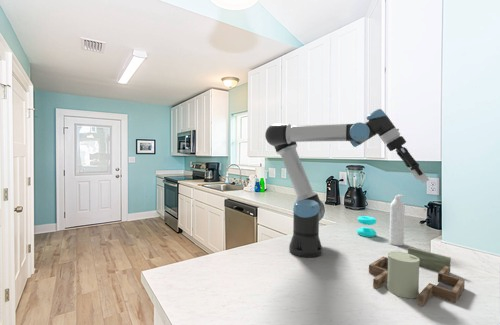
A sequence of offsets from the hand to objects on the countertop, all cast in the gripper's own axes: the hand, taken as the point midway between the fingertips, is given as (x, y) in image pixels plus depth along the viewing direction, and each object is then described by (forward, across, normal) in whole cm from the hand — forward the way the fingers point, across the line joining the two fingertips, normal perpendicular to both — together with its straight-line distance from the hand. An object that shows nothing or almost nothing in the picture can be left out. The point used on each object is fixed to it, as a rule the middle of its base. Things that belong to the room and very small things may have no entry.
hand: (422, 180), depth 111 cm
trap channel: (+26, -25, +24) cm, 43 cm away
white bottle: (+26, +19, +26) cm, 41 cm away
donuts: (+18, +28, +38) cm, 50 cm away
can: (+23, -36, +28) cm, 51 cm away
